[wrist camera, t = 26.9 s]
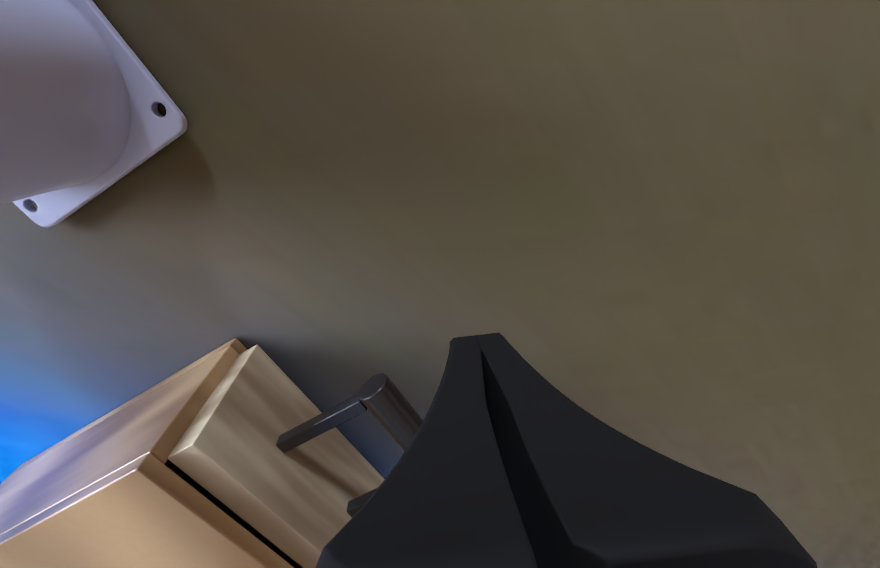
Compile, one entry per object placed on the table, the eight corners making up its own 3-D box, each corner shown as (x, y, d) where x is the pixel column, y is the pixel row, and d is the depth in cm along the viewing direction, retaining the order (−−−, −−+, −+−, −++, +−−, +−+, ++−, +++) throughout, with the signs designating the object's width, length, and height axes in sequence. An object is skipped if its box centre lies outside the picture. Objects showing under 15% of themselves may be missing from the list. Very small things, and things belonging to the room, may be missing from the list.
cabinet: (236, 336, 20) (136, 468, 13) (382, 489, 25) (369, 646, 18) (22, 463, 23) (-158, 630, 16) (192, 578, 28) (114, 746, 21)
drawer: (356, 286, 19) (329, 369, 13) (479, 447, 23) (498, 561, 17) (46, 466, 22) (-81, 593, 16) (204, 576, 27) (147, 705, 21)
